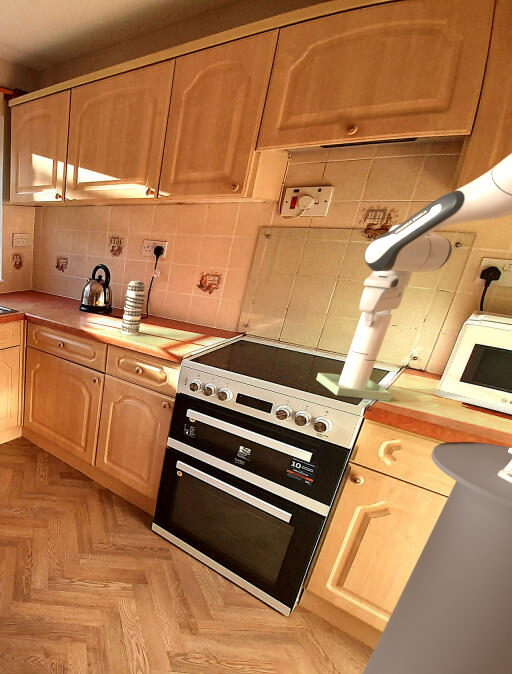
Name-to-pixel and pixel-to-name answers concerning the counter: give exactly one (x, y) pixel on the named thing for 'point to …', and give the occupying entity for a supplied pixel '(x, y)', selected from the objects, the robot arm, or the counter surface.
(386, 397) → the tray
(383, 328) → the cylindrical container
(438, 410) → the counter surface
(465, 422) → the counter surface
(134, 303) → the leaning tower model
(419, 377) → the counter surface
